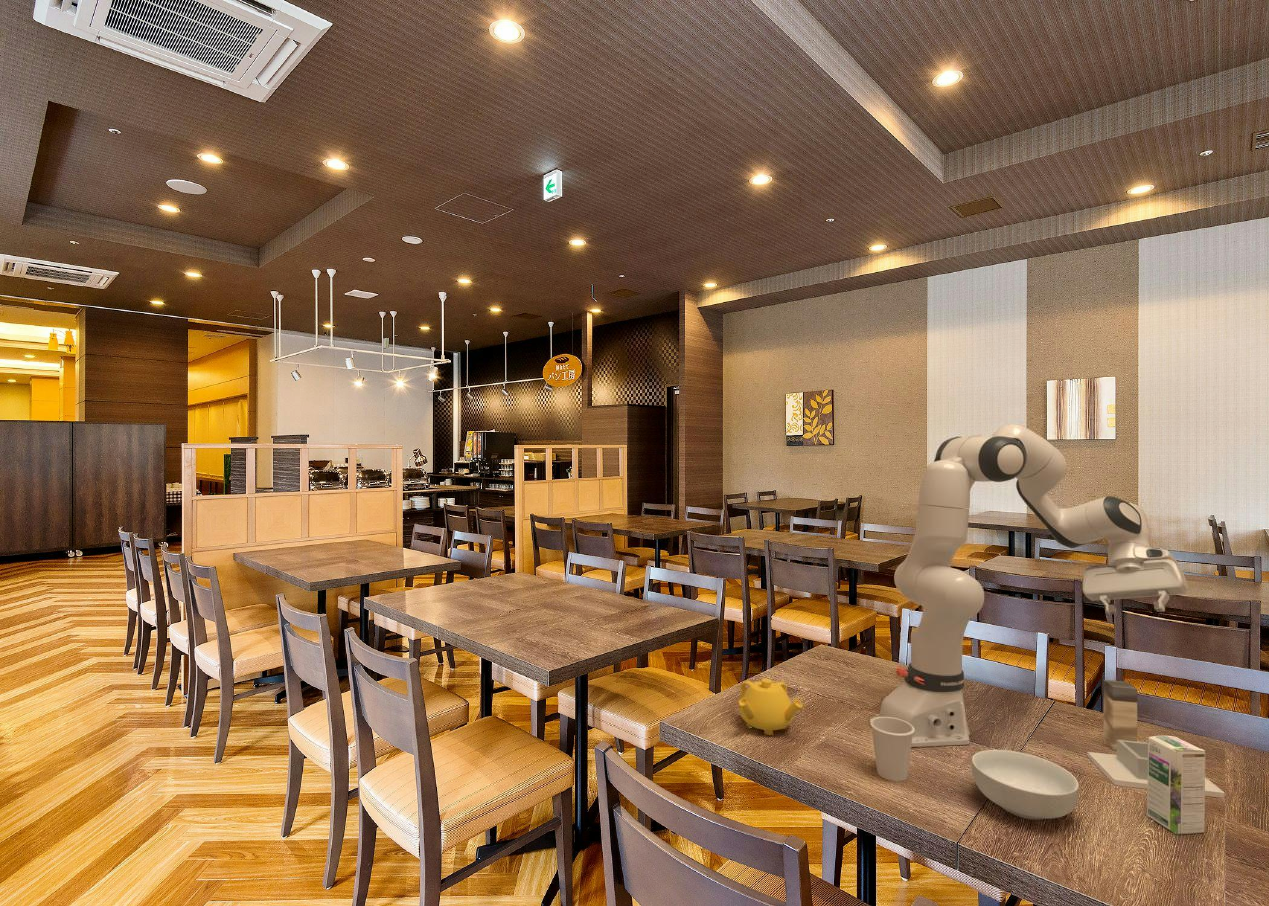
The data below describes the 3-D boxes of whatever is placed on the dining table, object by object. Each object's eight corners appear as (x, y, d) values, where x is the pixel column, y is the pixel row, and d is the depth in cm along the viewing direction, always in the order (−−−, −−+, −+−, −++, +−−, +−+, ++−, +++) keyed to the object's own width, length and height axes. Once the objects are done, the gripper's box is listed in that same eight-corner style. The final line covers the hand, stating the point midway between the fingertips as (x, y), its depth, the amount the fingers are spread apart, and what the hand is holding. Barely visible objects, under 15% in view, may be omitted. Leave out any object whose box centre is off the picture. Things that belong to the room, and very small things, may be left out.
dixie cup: (923, 780, 124) (924, 730, 124) (890, 788, 121) (890, 736, 121) (893, 761, 132) (893, 714, 132) (861, 767, 129) (861, 719, 129)
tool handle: (1137, 753, 136) (1137, 689, 136) (1113, 750, 137) (1113, 687, 137) (1126, 743, 140) (1126, 681, 141) (1103, 741, 142) (1103, 679, 142)
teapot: (739, 739, 142) (739, 690, 142) (733, 714, 155) (733, 670, 155) (803, 742, 141) (803, 692, 141) (791, 716, 155) (792, 671, 155)
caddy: (1224, 798, 118) (1224, 772, 118) (1114, 785, 123) (1114, 759, 123) (1186, 767, 130) (1186, 743, 130) (1087, 756, 134) (1087, 733, 134)
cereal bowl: (1102, 826, 109) (1102, 786, 109) (1029, 843, 105) (1029, 801, 105) (1018, 778, 126) (1018, 743, 126) (951, 790, 121) (951, 754, 121)
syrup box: (1145, 816, 112) (1145, 735, 112) (1175, 814, 113) (1175, 734, 113) (1175, 835, 107) (1175, 750, 107) (1206, 833, 107) (1207, 749, 107)
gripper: (1077, 560, 161) (1078, 608, 154) (1176, 549, 146) (1183, 601, 138) (1088, 573, 163) (1090, 621, 156) (1187, 563, 148) (1194, 615, 140)
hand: (1134, 611), depth 147 cm, fingers open, 8 cm apart
